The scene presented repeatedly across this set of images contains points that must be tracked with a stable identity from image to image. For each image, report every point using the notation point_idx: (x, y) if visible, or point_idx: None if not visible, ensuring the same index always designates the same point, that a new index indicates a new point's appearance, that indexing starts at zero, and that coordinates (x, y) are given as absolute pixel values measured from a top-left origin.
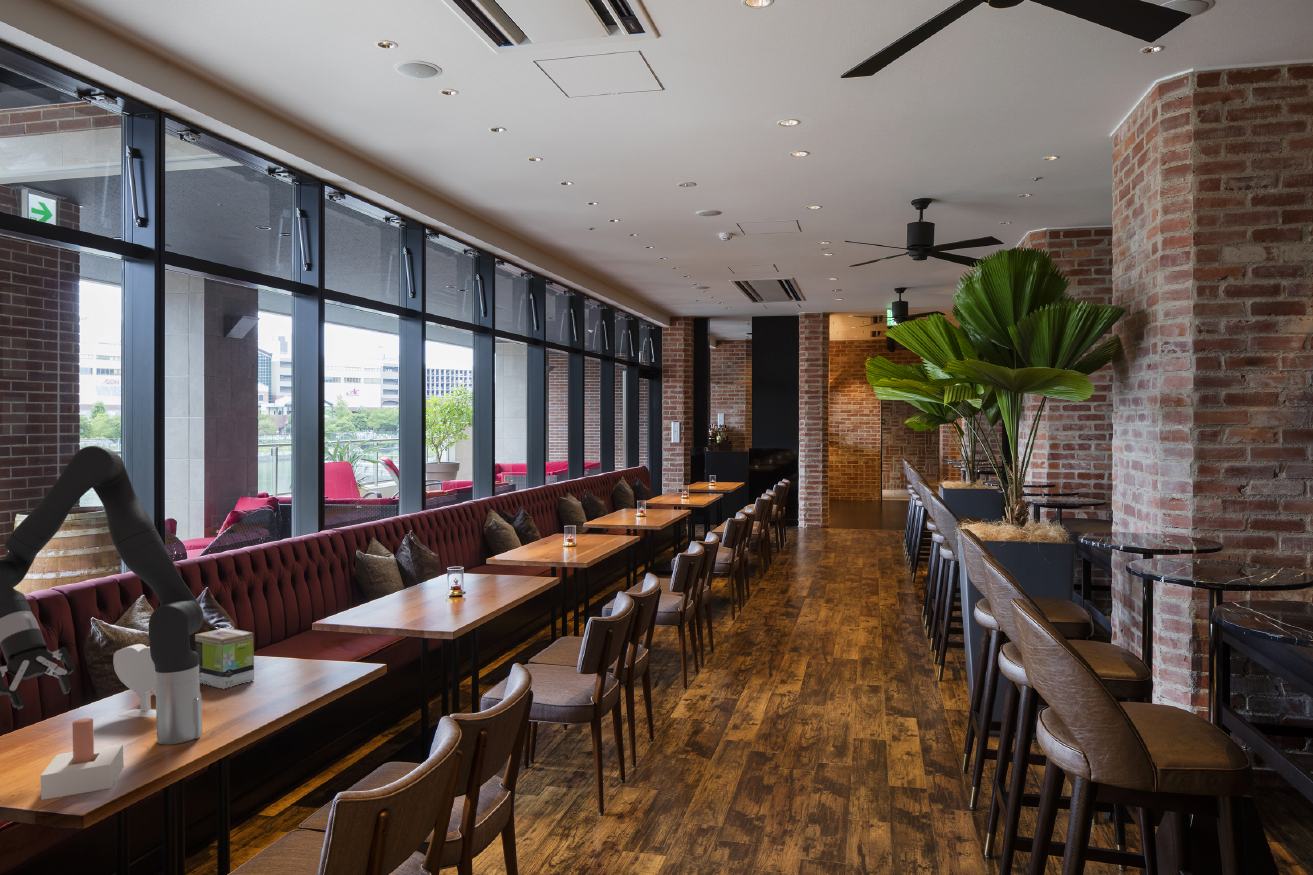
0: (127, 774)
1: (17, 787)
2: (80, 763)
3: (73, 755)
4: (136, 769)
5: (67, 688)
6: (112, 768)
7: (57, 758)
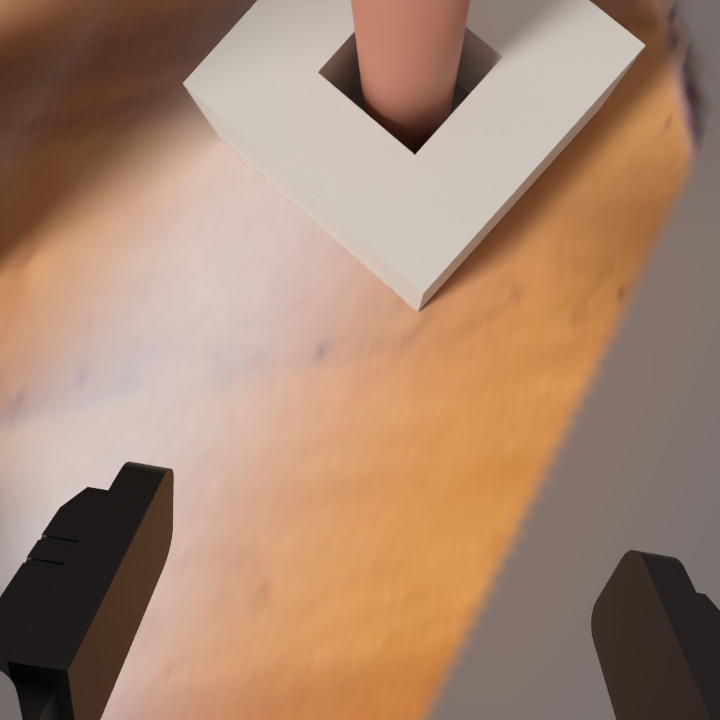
0: None
1: (566, 372)
2: None
3: (460, 54)
4: None
5: (140, 473)
6: None
7: (462, 221)
